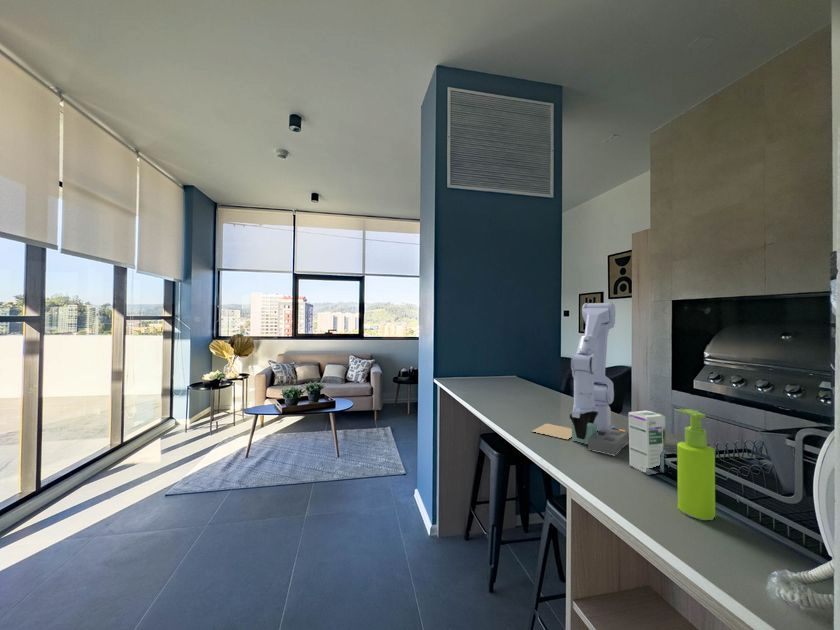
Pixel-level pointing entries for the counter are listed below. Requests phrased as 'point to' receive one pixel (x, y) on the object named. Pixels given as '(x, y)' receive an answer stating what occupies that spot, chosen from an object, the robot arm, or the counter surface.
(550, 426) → the cork mat
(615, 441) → the power strip
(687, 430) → the soap dispenser
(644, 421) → the syrup box
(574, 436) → the charger
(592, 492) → the counter surface
